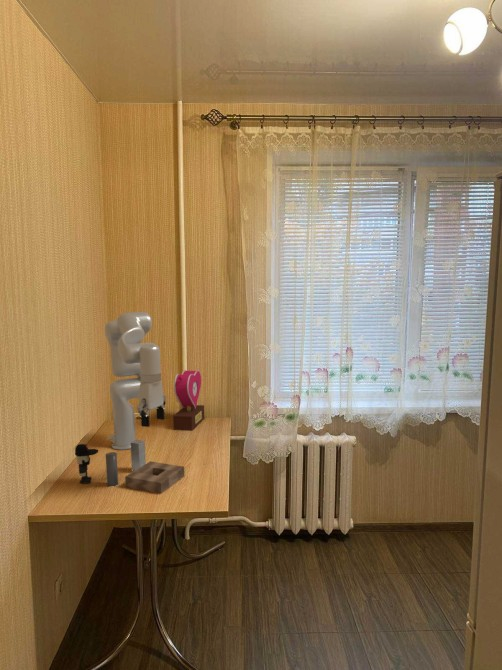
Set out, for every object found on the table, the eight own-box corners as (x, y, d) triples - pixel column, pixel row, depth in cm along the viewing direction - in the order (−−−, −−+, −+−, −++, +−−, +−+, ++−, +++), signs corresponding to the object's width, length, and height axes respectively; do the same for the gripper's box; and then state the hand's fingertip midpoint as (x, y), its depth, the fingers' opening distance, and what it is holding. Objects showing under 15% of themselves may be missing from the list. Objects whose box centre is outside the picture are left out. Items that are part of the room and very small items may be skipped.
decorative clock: (190, 432, 239) (188, 374, 235) (171, 431, 241) (168, 374, 237) (204, 418, 263) (203, 365, 259) (187, 417, 265) (185, 365, 261)
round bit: (105, 485, 178) (103, 455, 177) (112, 481, 182) (110, 451, 180) (113, 487, 176) (111, 456, 175) (120, 483, 180) (118, 453, 179)
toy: (99, 484, 180) (96, 446, 178) (75, 486, 178) (72, 448, 176) (100, 476, 187) (98, 439, 185) (78, 478, 185) (75, 441, 183)
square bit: (131, 471, 191) (130, 442, 190) (138, 467, 195) (136, 439, 194) (140, 472, 190) (138, 443, 188) (146, 468, 193) (144, 440, 192)
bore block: (125, 486, 177) (125, 476, 176) (150, 470, 191) (150, 461, 191) (161, 493, 170) (161, 483, 170) (184, 476, 185) (184, 466, 185)
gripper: (156, 373, 186) (158, 415, 187) (128, 382, 170) (130, 428, 171) (172, 374, 183) (174, 417, 184) (145, 383, 167) (148, 430, 168)
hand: (153, 422), depth 178 cm, fingers open, 9 cm apart
